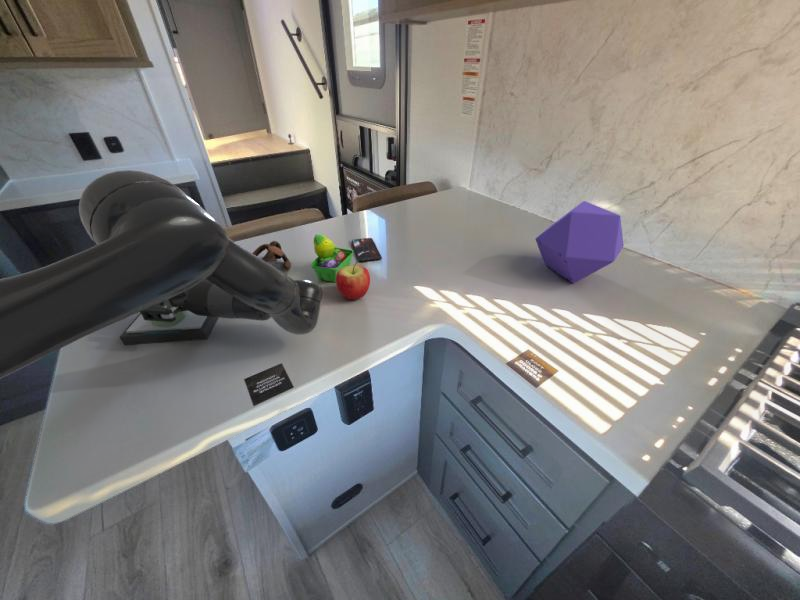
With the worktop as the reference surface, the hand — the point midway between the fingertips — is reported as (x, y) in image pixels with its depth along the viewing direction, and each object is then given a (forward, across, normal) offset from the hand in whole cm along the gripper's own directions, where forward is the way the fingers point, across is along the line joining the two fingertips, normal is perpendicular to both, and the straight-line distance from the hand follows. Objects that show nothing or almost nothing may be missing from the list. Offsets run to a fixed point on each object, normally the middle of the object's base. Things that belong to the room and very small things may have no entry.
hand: (147, 291), depth 64 cm
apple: (-38, -18, +9) cm, 43 cm away
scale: (-2, -3, +9) cm, 10 cm away
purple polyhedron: (-96, -40, +9) cm, 105 cm away
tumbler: (-2, 0, +6) cm, 7 cm away
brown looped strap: (-12, -28, +9) cm, 32 cm away
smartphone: (-35, -43, +9) cm, 57 cm away
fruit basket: (-29, -28, +9) cm, 41 cm away
